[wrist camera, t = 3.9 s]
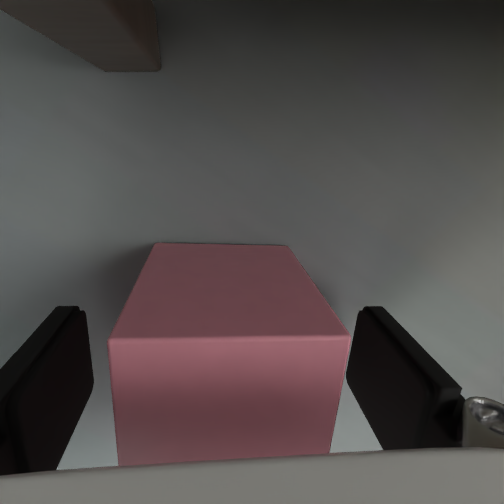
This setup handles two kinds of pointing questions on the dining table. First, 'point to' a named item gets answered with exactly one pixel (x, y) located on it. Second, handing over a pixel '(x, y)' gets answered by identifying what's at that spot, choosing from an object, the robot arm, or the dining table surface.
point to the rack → (96, 30)
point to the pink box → (224, 357)
